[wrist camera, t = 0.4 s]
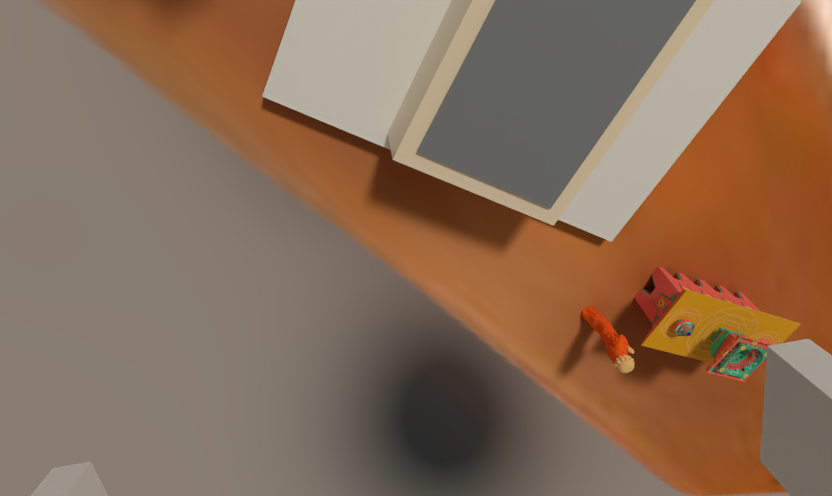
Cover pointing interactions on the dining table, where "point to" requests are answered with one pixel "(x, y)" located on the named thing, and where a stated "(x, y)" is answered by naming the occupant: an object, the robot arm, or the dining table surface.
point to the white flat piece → (525, 90)
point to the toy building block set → (698, 326)
